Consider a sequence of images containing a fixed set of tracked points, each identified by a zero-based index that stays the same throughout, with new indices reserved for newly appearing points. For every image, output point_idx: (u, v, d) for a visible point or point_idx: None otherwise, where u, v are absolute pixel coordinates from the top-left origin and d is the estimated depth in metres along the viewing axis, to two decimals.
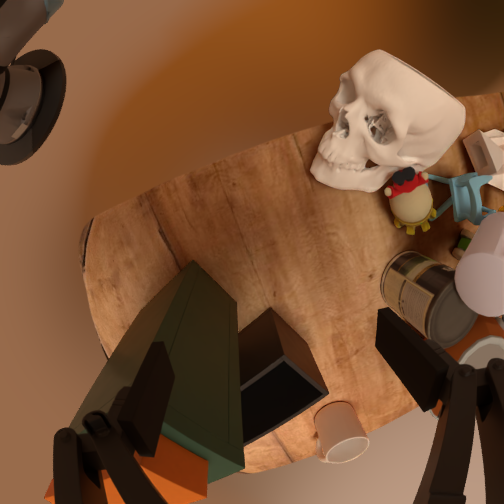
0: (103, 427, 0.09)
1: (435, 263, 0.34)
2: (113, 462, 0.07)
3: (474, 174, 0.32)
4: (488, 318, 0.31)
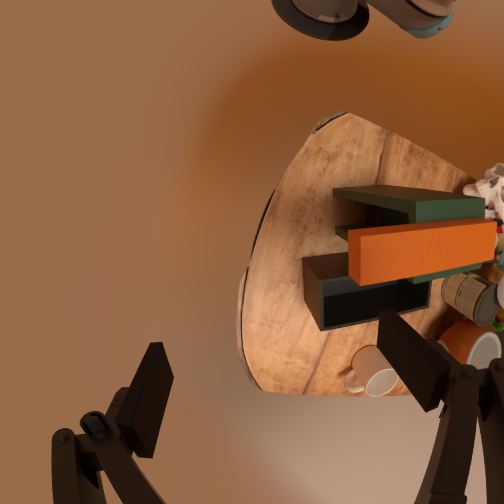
0: (101, 428, 0.09)
1: None
2: (111, 463, 0.07)
3: None
4: None
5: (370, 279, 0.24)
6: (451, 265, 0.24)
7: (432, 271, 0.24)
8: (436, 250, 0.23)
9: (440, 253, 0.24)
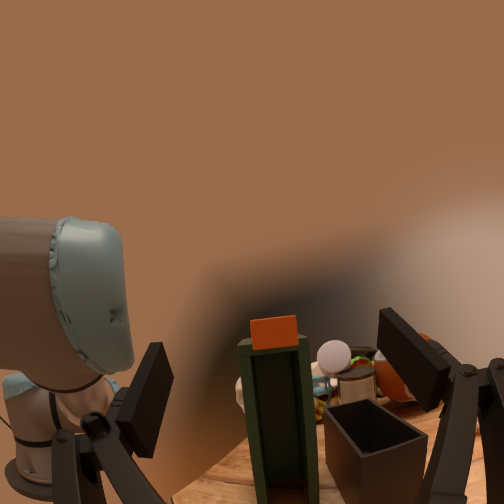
0: (101, 428, 0.09)
1: None
2: (111, 463, 0.07)
3: None
4: None
5: None
6: None
7: None
8: None
9: None
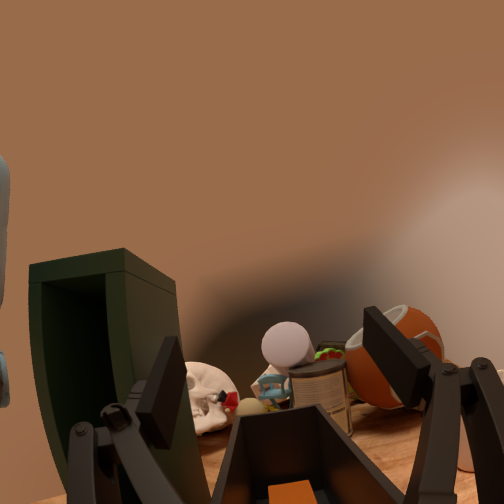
0: (121, 420, 0.09)
1: None
2: (129, 455, 0.07)
3: (269, 389, 0.62)
4: None
5: None
6: None
7: None
8: None
9: None
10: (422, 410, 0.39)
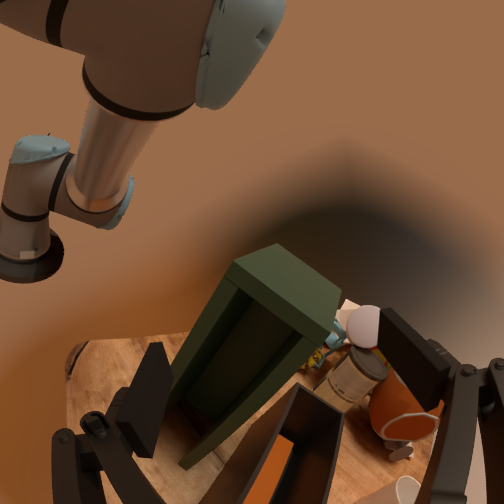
0: (101, 428, 0.09)
1: None
2: (111, 463, 0.07)
3: None
4: None
5: None
6: (277, 477, 0.29)
7: (272, 492, 0.27)
8: (260, 483, 0.28)
9: (264, 481, 0.28)
10: (384, 445, 0.48)
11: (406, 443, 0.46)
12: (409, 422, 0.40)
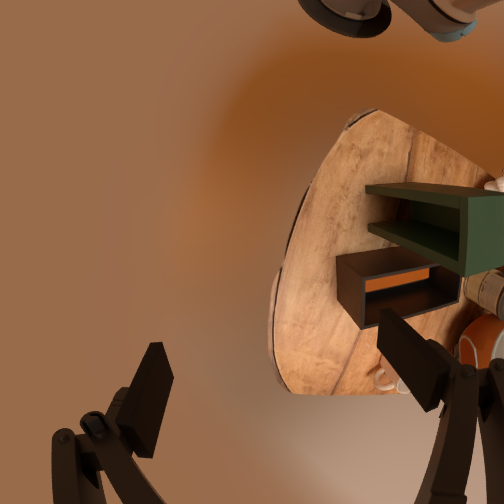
0: (101, 428, 0.09)
1: None
2: (111, 463, 0.07)
3: None
4: None
5: None
6: (398, 283, 0.51)
7: (387, 286, 0.51)
8: (389, 276, 0.51)
9: (391, 277, 0.51)
10: None
11: None
12: (471, 355, 0.48)
